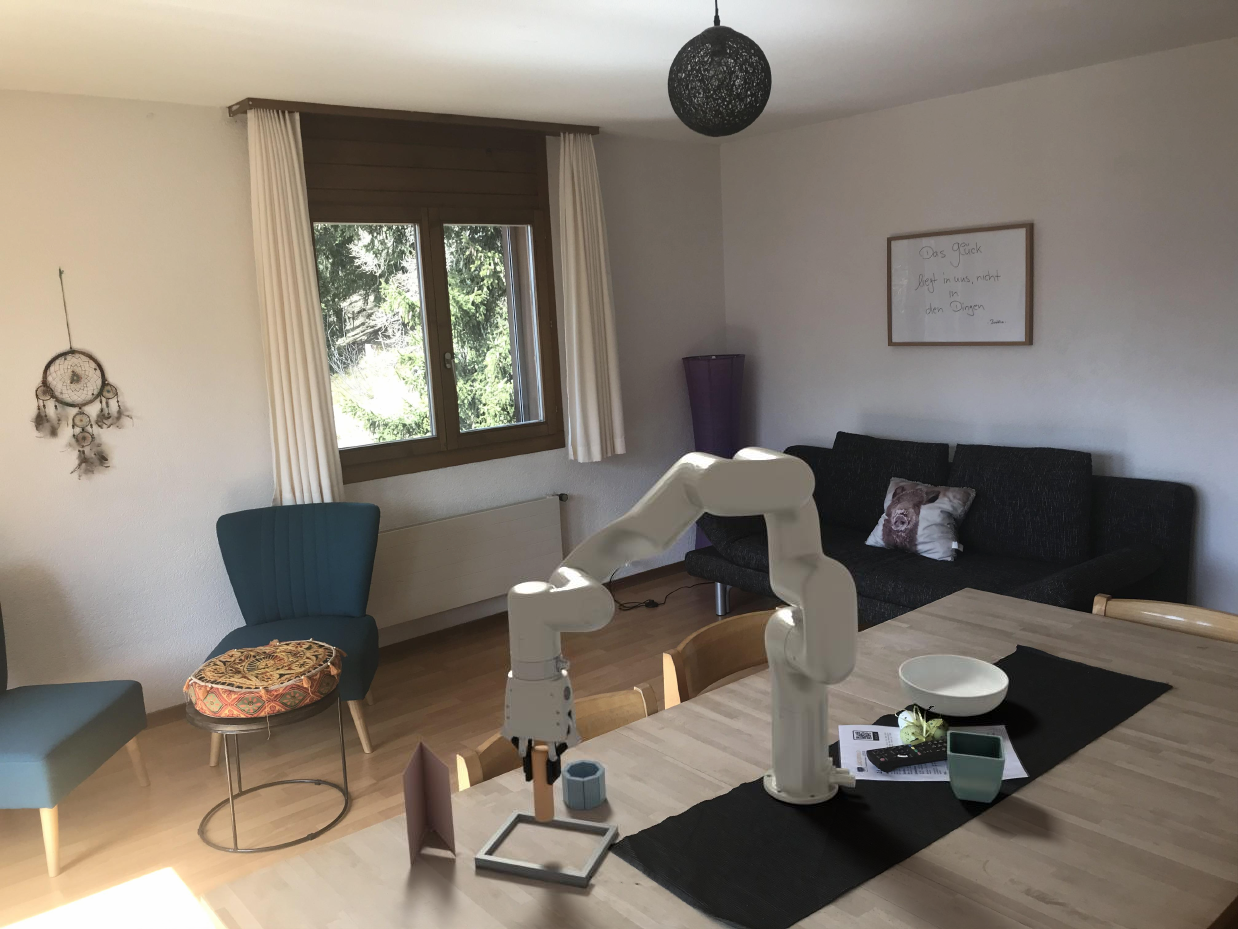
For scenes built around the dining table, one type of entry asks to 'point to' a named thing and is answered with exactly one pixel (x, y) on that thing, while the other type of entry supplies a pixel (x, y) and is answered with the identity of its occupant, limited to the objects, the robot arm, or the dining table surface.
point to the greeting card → (427, 798)
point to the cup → (583, 784)
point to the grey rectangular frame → (543, 871)
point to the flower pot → (975, 765)
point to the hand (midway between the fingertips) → (542, 778)
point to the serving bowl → (953, 684)
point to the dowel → (542, 785)
